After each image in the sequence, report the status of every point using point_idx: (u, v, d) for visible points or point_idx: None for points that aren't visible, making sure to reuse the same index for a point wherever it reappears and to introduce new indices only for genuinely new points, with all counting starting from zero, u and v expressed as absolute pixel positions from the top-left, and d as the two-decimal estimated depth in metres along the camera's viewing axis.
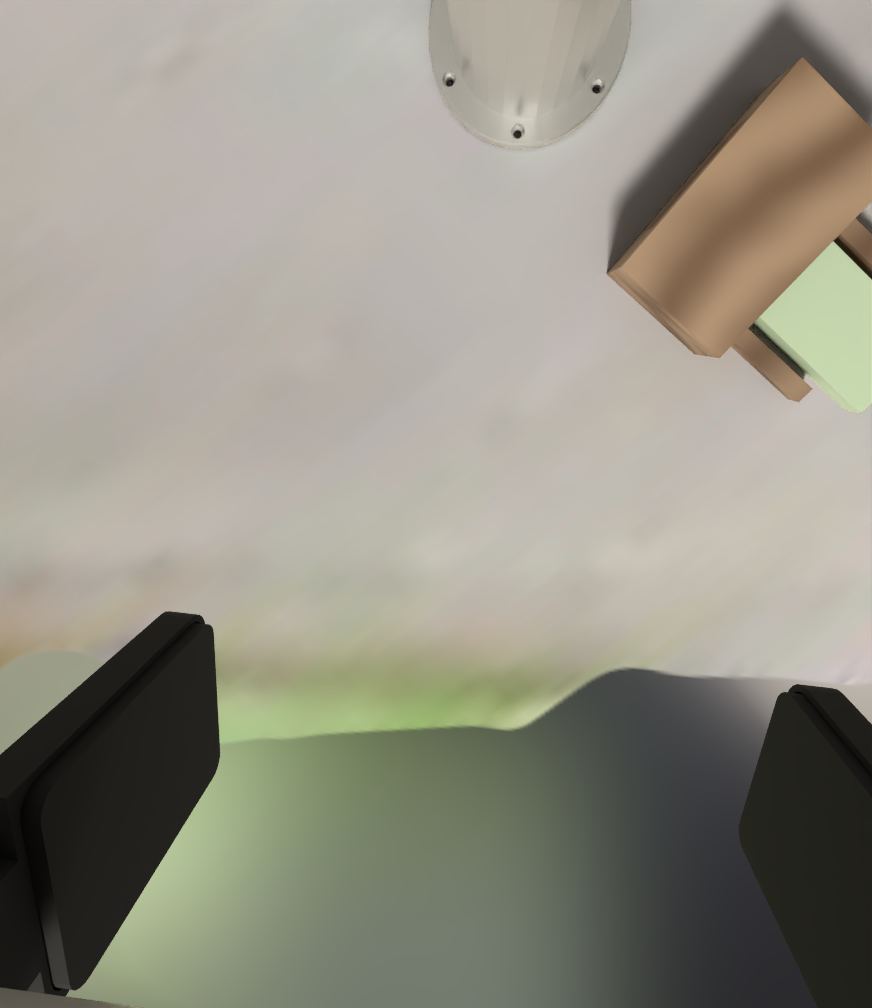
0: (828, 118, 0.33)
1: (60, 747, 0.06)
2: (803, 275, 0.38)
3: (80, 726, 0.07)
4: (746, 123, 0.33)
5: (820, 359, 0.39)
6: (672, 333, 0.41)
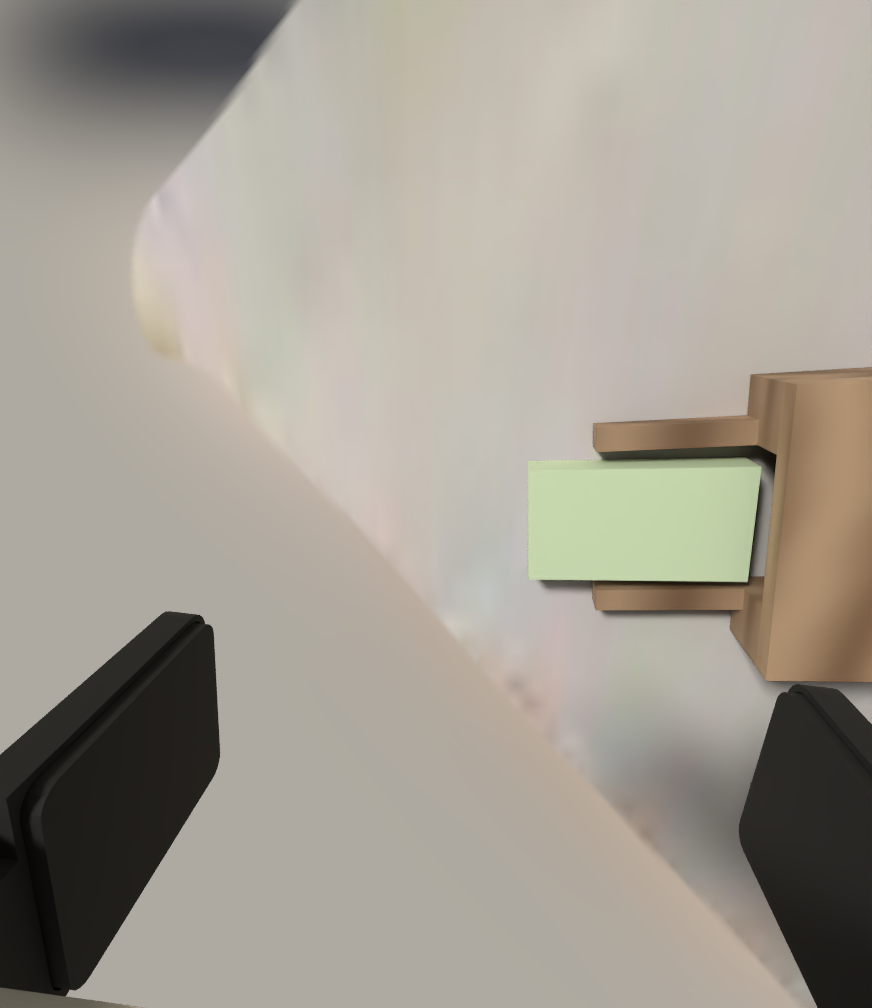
0: None
1: (59, 747, 0.06)
2: (729, 535, 0.28)
3: (80, 726, 0.07)
4: None
5: (627, 482, 0.28)
6: (802, 371, 0.28)
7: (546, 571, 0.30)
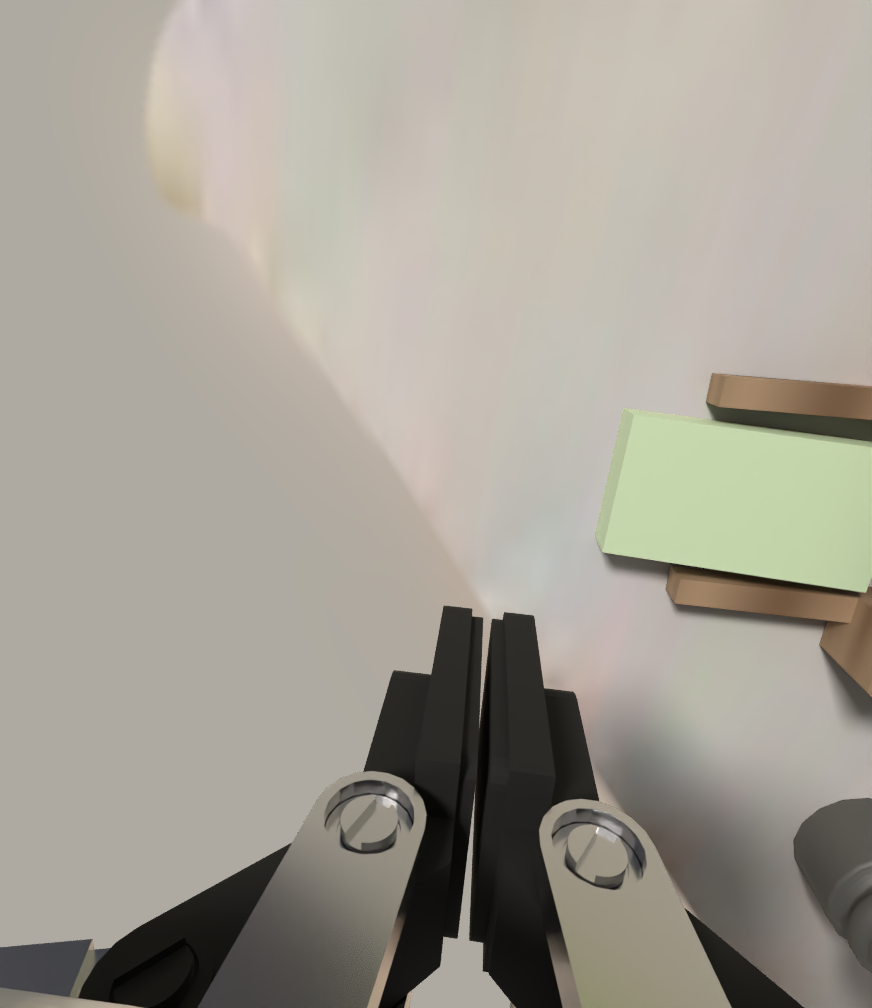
0: None
1: (463, 721, 0.07)
2: (859, 533, 0.23)
3: (461, 704, 0.07)
4: None
5: (753, 448, 0.23)
6: None
7: (626, 545, 0.25)
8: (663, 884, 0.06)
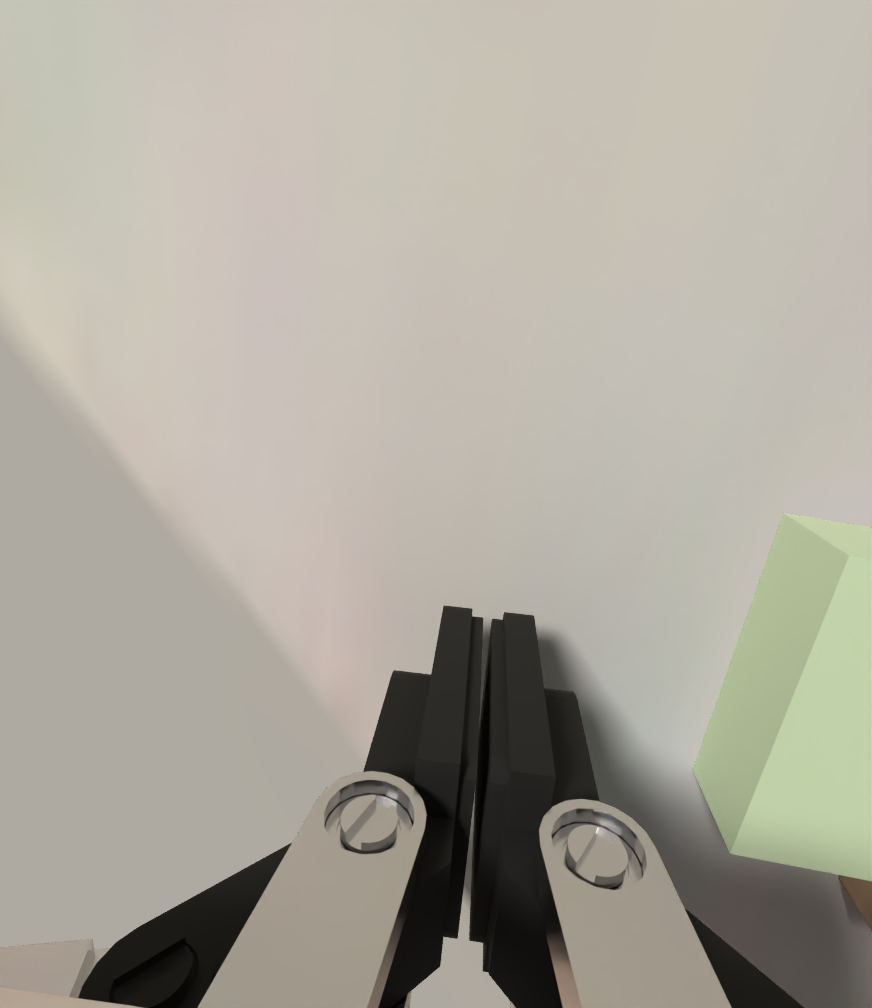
0: None
1: (464, 722, 0.07)
2: None
3: (461, 705, 0.07)
4: None
5: None
6: None
7: (791, 844, 0.10)
8: (662, 884, 0.06)
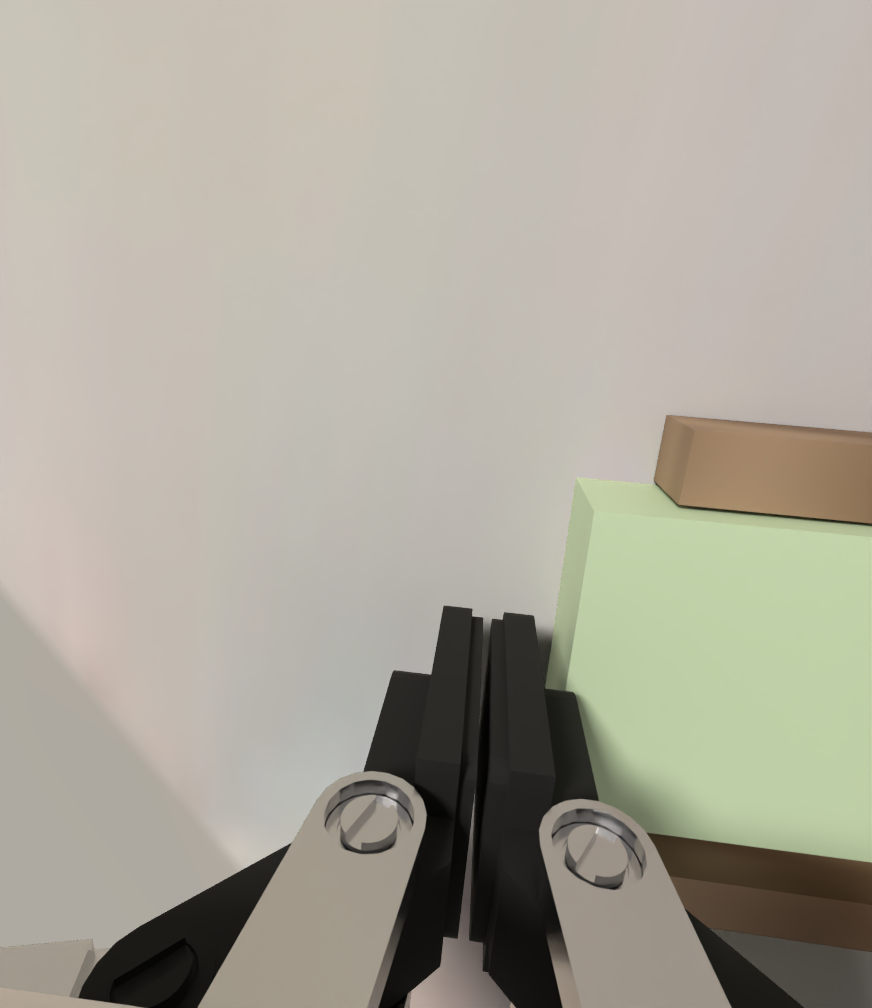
0: None
1: (464, 721, 0.07)
2: None
3: (461, 704, 0.07)
4: None
5: None
6: None
7: None
8: (663, 884, 0.06)
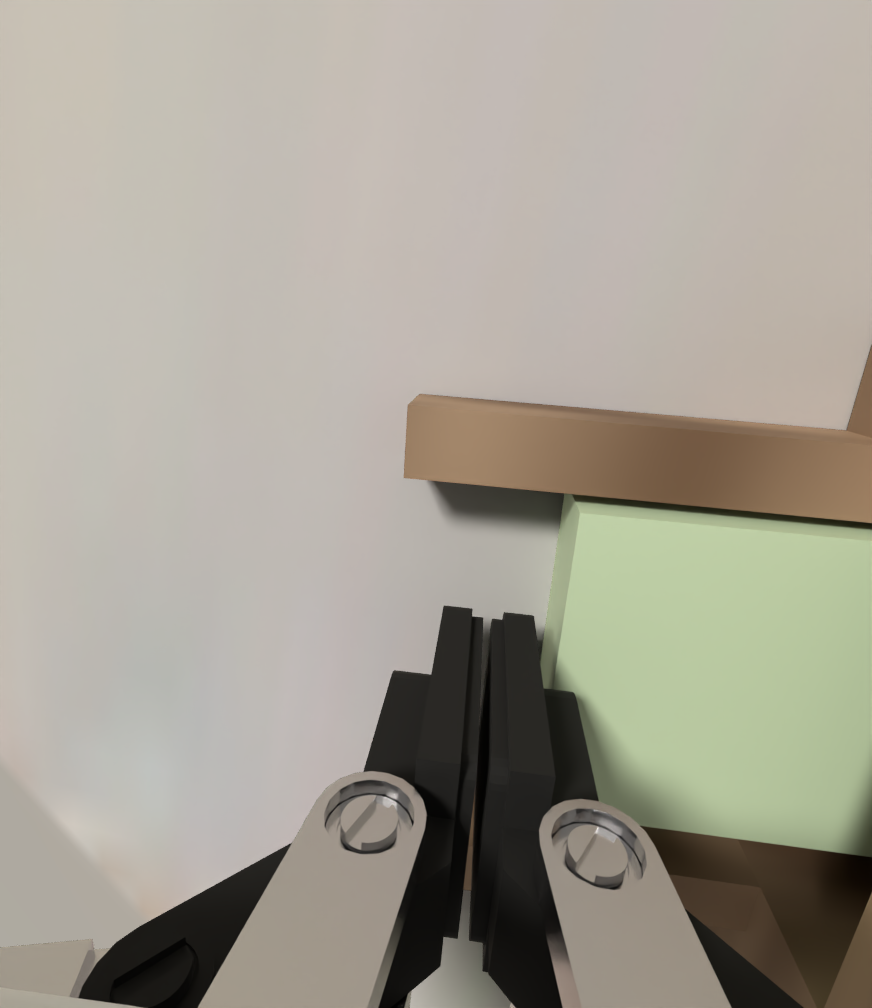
0: None
1: (464, 721, 0.07)
2: None
3: (461, 704, 0.07)
4: None
5: None
6: None
7: None
8: (663, 884, 0.06)
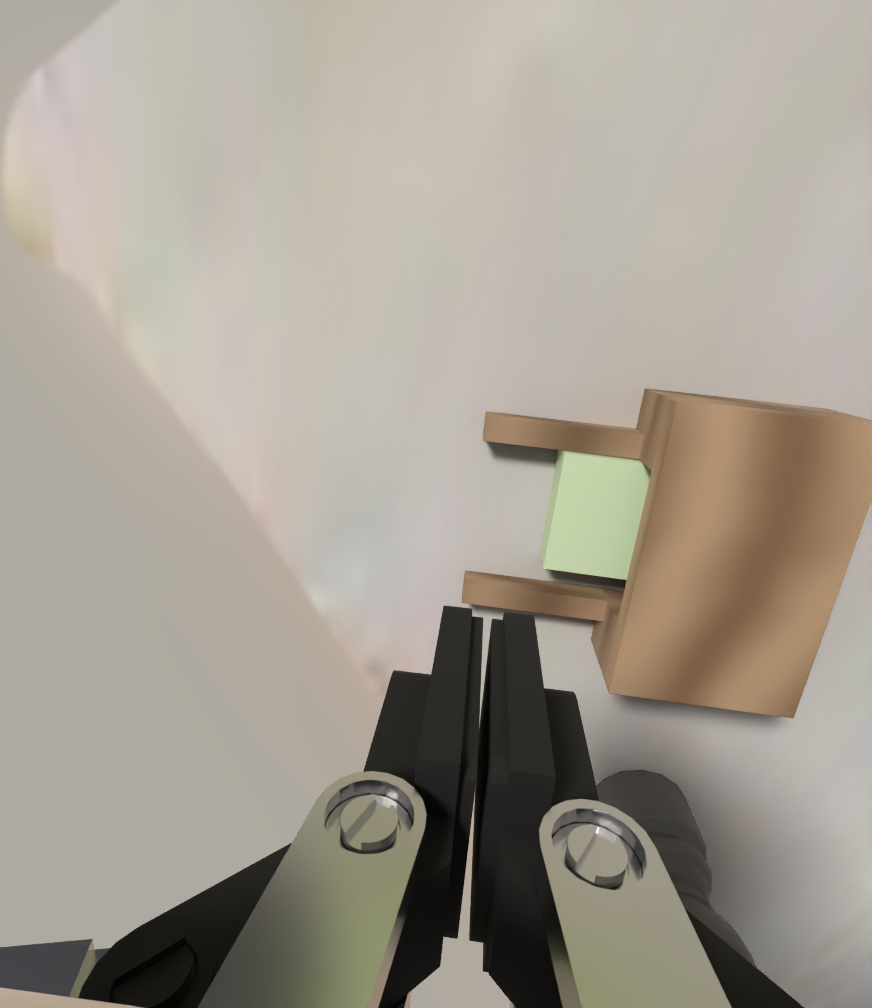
0: (725, 688, 0.27)
1: (463, 721, 0.07)
2: None
3: (461, 704, 0.07)
4: (818, 644, 0.26)
5: None
6: (693, 394, 0.28)
7: (563, 562, 0.29)
8: (663, 884, 0.06)
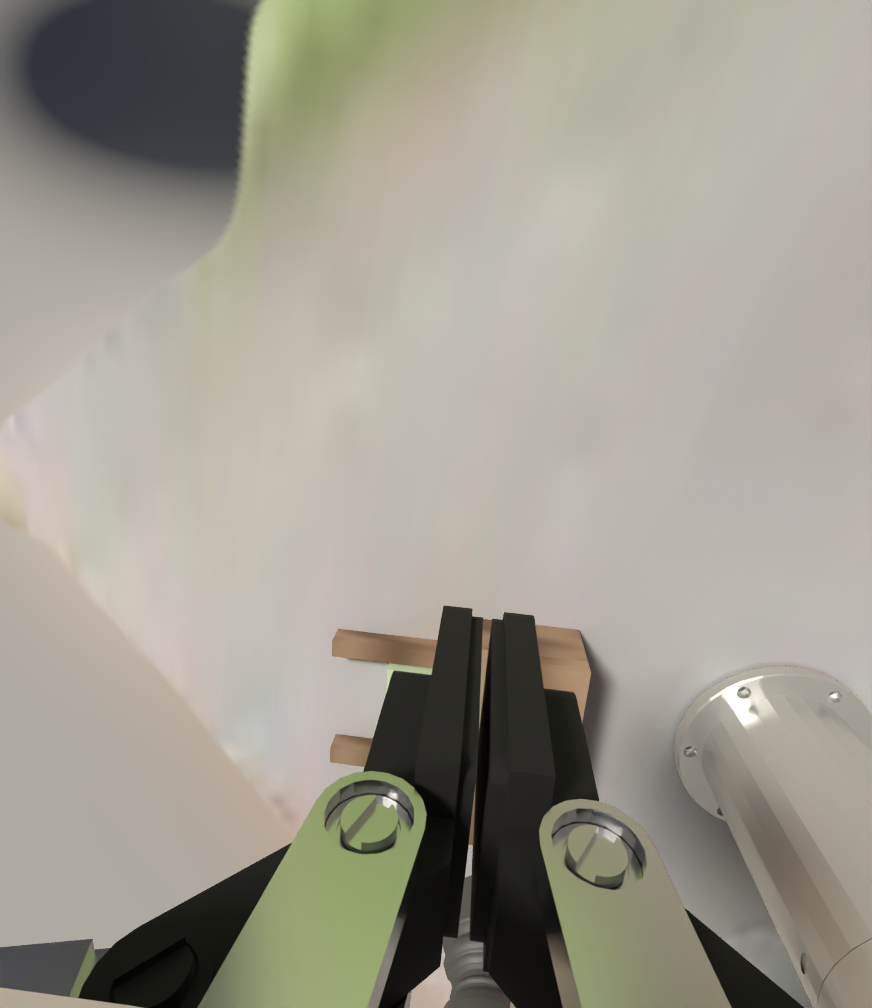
0: None
1: (463, 722, 0.07)
2: None
3: (461, 704, 0.07)
4: None
5: None
6: None
7: None
8: (663, 884, 0.06)
